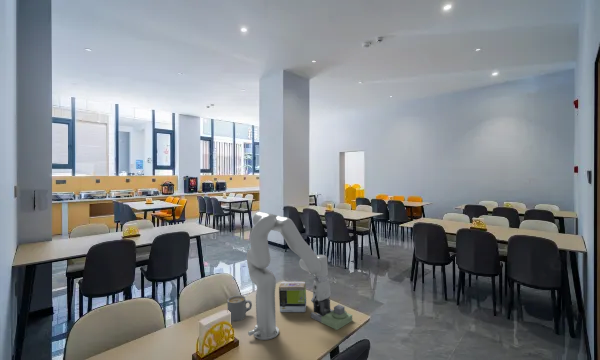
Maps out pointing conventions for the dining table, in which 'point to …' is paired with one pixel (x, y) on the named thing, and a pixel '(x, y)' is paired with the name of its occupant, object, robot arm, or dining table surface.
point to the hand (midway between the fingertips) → (321, 309)
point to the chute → (324, 307)
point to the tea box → (292, 296)
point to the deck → (335, 321)
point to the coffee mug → (238, 307)
